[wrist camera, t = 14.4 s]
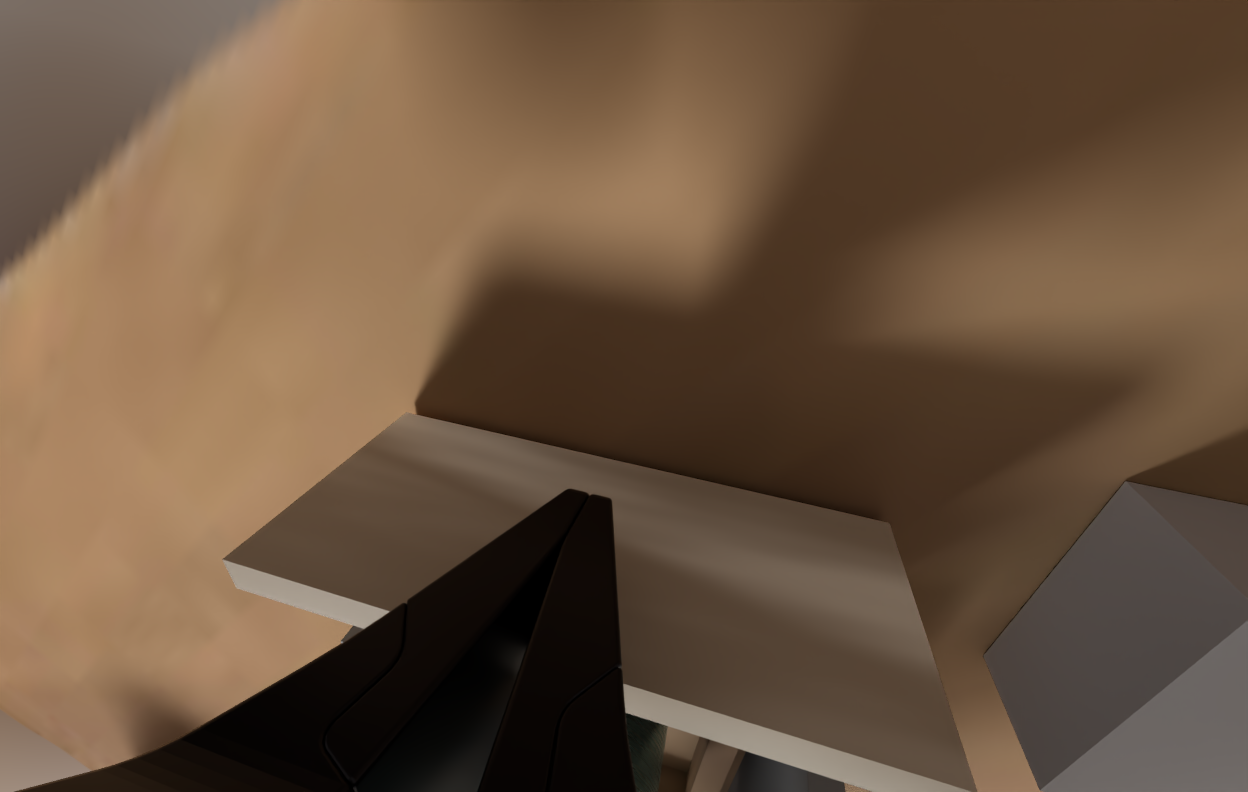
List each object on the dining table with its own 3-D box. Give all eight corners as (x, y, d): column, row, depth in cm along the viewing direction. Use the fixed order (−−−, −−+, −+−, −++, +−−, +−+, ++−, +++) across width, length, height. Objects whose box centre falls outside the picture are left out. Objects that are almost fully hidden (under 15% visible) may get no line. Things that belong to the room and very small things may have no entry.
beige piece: (759, 775, 18) (758, 996, 13) (451, 675, 20) (360, 836, 15) (889, 523, 11) (977, 792, 7) (406, 412, 13) (222, 559, 9)
